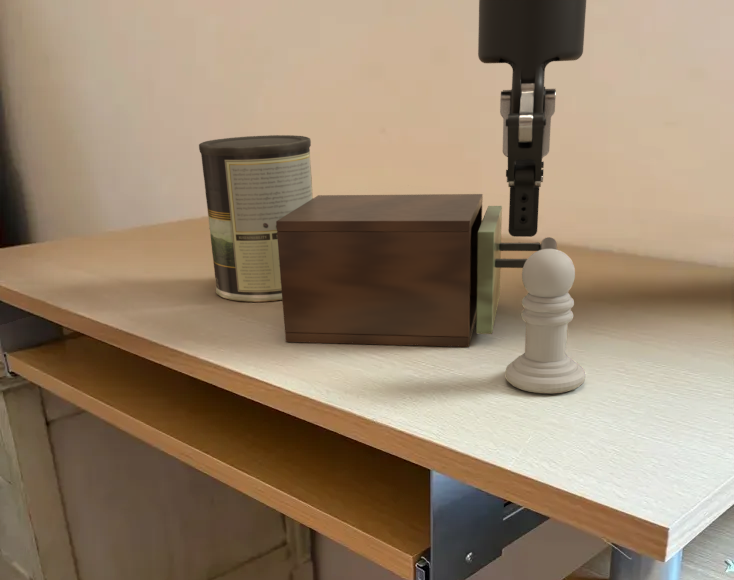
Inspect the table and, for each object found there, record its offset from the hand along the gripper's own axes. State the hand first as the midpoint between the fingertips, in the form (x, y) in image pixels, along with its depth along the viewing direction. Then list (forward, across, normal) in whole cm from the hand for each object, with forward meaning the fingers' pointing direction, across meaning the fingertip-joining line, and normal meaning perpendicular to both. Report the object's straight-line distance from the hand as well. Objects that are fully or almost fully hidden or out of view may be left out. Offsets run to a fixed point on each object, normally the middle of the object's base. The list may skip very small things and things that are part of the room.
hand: (522, 234), depth 65 cm
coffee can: (+8, +10, +25) cm, 28 cm away
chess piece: (+8, -13, -2) cm, 15 cm away
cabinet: (+7, 0, +11) cm, 13 cm away
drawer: (+6, 0, +6) cm, 9 cm away
